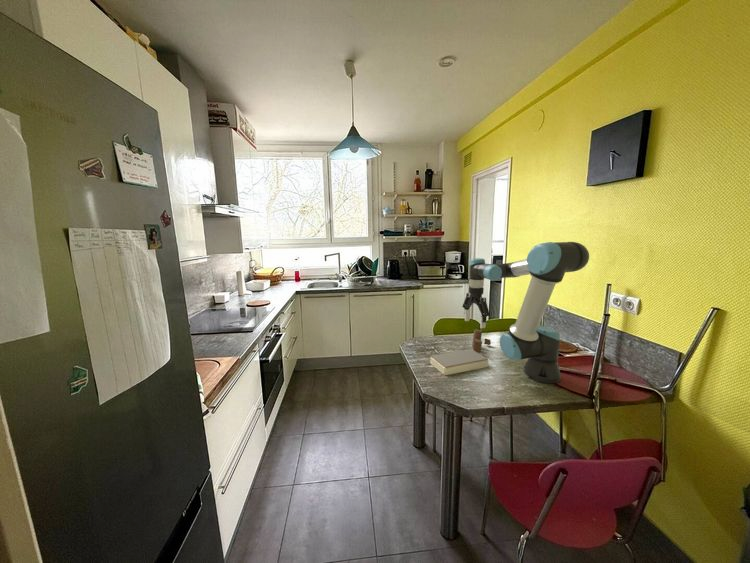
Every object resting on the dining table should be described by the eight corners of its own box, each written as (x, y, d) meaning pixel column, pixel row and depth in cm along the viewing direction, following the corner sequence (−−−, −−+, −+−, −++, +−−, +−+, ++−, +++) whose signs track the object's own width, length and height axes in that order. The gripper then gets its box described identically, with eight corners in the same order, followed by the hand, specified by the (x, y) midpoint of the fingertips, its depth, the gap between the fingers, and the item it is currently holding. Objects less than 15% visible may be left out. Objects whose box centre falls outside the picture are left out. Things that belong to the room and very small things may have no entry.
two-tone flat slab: (488, 366, 145) (488, 359, 144) (444, 375, 137) (445, 367, 137) (470, 356, 158) (471, 349, 157) (430, 363, 150) (430, 356, 149)
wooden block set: (482, 357, 157) (484, 339, 155) (466, 352, 161) (468, 334, 159) (490, 346, 171) (492, 330, 169) (475, 342, 176) (477, 326, 174)
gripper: (498, 290, 150) (496, 330, 153) (468, 282, 173) (466, 317, 177) (486, 291, 147) (484, 332, 151) (457, 283, 170) (455, 318, 174)
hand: (474, 324), depth 164 cm, fingers open, 13 cm apart
